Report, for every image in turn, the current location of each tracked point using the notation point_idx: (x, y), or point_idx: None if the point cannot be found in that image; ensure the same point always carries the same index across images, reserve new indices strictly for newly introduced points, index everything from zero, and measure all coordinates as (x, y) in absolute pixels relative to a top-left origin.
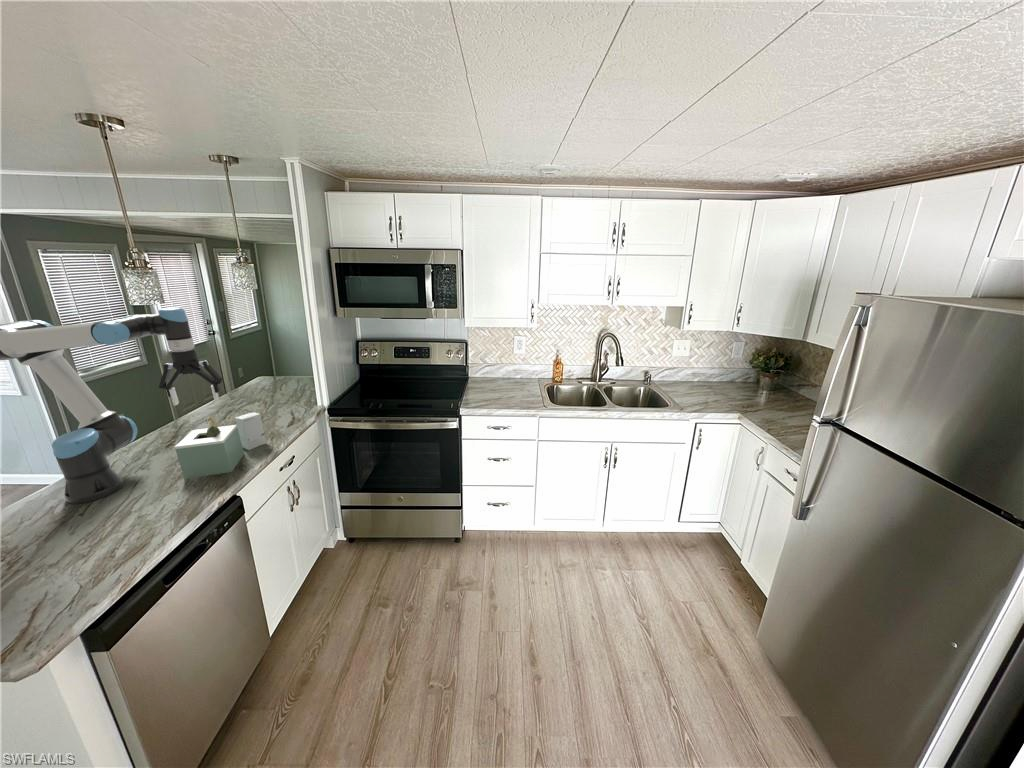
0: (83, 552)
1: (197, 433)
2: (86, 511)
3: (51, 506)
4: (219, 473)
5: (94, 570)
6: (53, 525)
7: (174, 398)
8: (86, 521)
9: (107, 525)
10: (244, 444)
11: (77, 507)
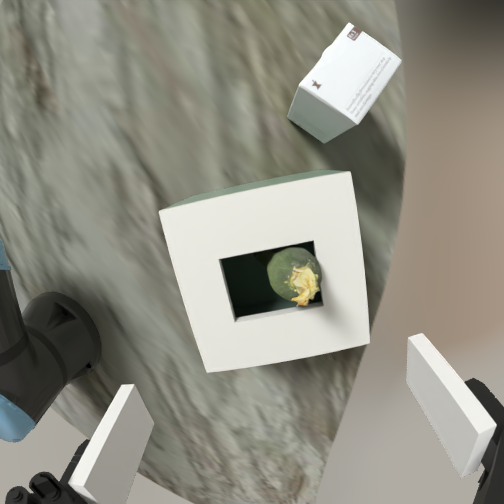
0: (222, 480)
1: (211, 258)
2: None
3: None
4: None
5: (269, 499)
6: None
7: (138, 456)
8: None
9: (197, 442)
10: (309, 129)
11: (86, 381)
